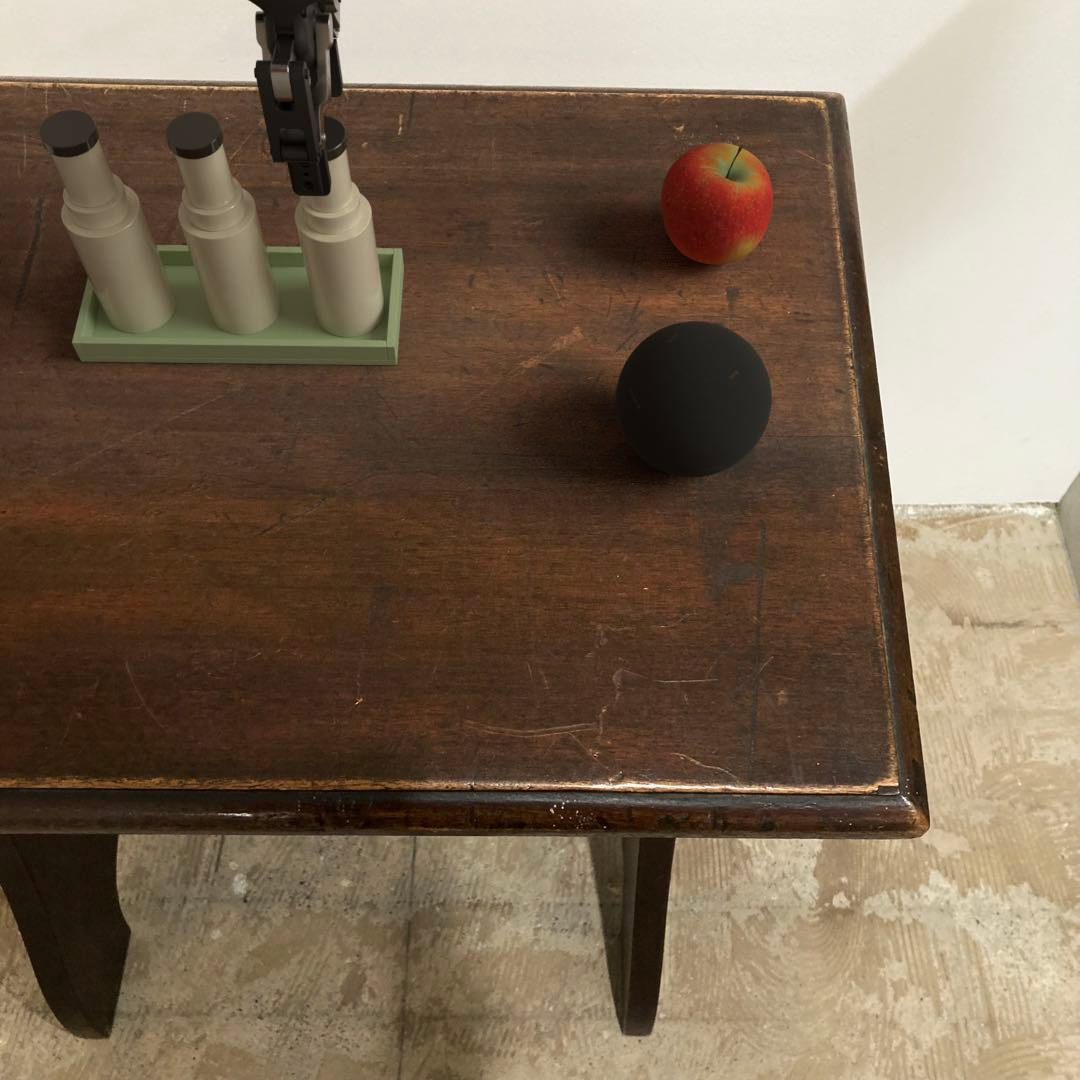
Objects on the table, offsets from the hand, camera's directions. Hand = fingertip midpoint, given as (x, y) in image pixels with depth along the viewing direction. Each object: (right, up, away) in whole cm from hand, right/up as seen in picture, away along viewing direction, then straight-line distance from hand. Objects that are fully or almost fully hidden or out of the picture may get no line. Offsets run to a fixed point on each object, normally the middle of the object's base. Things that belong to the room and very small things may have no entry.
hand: (319, 141), depth 70 cm
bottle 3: (0, -8, +13) cm, 15 cm away
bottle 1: (-15, -7, +13) cm, 21 cm away
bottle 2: (-8, -7, +13) cm, 17 cm away
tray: (-8, -8, +14) cm, 18 cm away
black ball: (+23, -18, +9) cm, 31 cm away
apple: (+26, -2, +18) cm, 32 cm away
